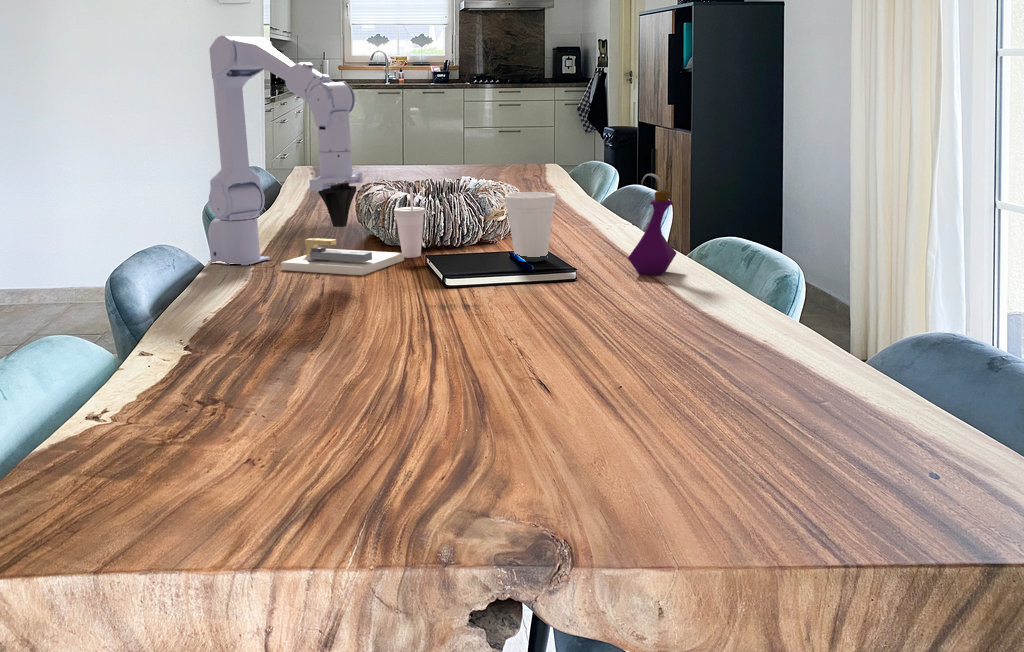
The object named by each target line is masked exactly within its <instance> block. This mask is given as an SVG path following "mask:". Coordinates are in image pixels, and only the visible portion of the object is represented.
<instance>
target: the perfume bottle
mask: <svg viewBox="0 0 1024 652" xmlns="http://www.w3.org/2000/svg"><path fill="white" fill-rule="evenodd" d="M648 176H650V177H653V178H654V179H656V180H657V181H658V183H659V184H660V187H661V190H657V191H655V192H654V194H653V196H654V199H652V200H650V205H652V208H653V211H652V215H651V218H650V221H649V223H648V225H647V227H646V229H645V232H644V234H643V235H642V236H641V238H640V240H639V241H638V242H637V244H636V246H635V247H634V248H633V250H632V252H631V253H630V254H629V255H628V258H627V259H628V260H629V262H630V263H631V265H632V267H633V268H634V269H635V271H636V272H637V274H638V275H643V276H663V275H664V274H665V273H666V272H667V270H668V268H669V267H670V265H671V263H672V262H673V260H674V259H675V257H676V256H677V251H676V250H675V249H674V248H673V247H672V246H671V245H670V243H669V242H668V241H667V240H666V238H665V237H664V235H663V234H662V222H663V218H664V215H665V212H666V211H667V210H668V208H669V207H670V206H672V205H673V204H674V202H673V200H671V199H670V197H671V196H670V195H671V193H672V192H671V191H670V190H665V189H664V188H663V183H662V180H661V178H660V177H659V176H658V175H656V174H654V173H646V174H645V175H644V176H643V178H642V180H641V182H640V183H641V185H643V183H644V180H645V179H646V178H647V177H648Z"/></svg>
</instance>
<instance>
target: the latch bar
mask: <svg viewBox="0 0 1024 652" xmlns="http://www.w3.org/2000/svg"><path fill="white" fill-rule="evenodd" d="M326 249H327V248H326V247H325V246H319V247H313V248H311V251H310V259H321V260H338V261H354V262H366V261H369V260H372V252H362V251H363V250H358V251H343V250H344V249H339V250H326Z"/></svg>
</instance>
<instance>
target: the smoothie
mask: <svg viewBox="0 0 1024 652" xmlns="http://www.w3.org/2000/svg"><path fill="white" fill-rule="evenodd" d="M409 202H410V206H405V207H404V206H403V207H398V208H394V209H393V215H394V216H395V218H396V226H397V231H398V238H399V244H400V249H401V253H404V258H407V259H408V258H409V259H410V258H419V257H421V255H422V241H423V233H424V232H423V229H424V218H425V217H424V216H425V214H426V208H425V207H421V206H414V190H413V186H410V187H409Z"/></svg>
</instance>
